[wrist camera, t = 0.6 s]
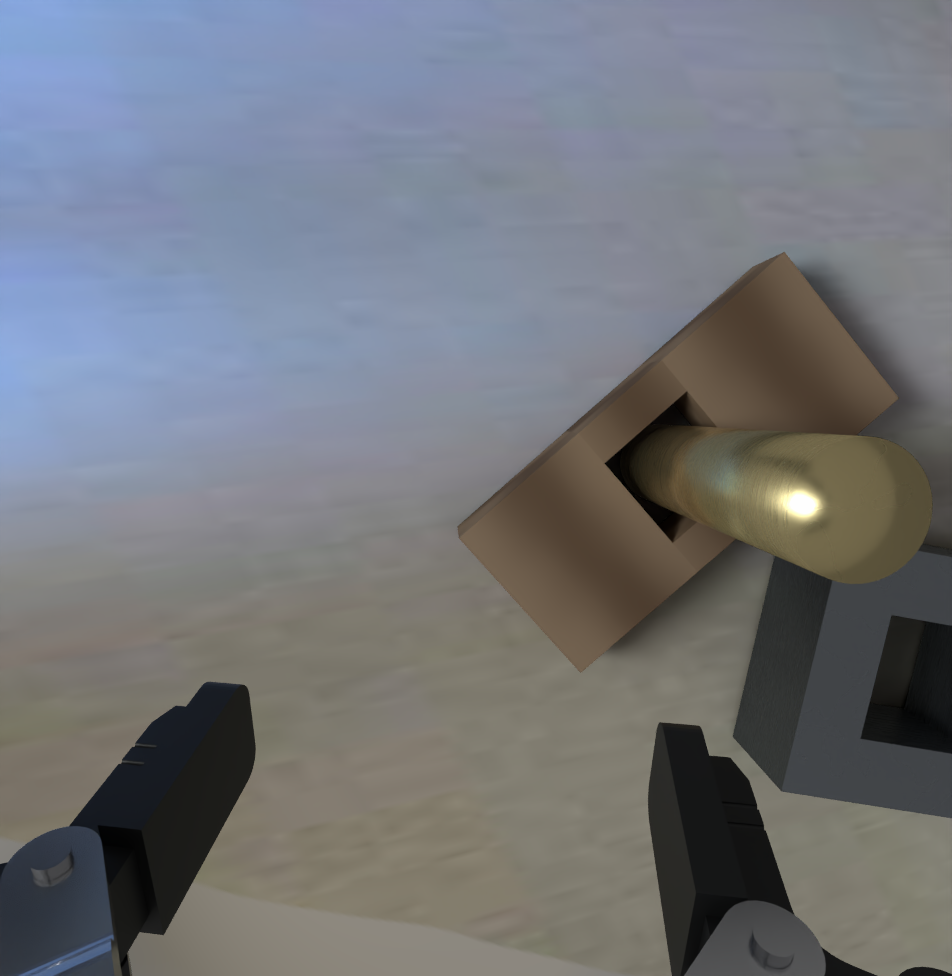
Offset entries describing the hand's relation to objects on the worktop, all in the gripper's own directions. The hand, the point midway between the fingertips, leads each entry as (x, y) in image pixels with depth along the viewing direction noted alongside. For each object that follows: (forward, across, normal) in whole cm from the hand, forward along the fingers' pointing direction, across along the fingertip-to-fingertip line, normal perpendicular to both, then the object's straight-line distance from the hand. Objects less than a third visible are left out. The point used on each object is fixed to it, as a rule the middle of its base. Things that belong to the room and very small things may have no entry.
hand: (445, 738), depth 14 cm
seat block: (+20, -18, +10) cm, 29 cm away
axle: (+21, -7, +1) cm, 22 cm away
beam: (+21, -7, +1) cm, 22 cm away
